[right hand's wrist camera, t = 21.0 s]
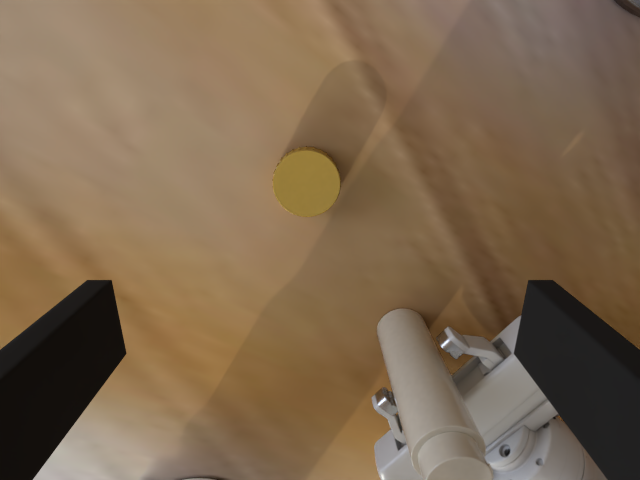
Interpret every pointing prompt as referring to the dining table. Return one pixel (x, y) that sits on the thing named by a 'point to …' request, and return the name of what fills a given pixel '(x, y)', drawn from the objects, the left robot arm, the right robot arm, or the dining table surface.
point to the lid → (306, 182)
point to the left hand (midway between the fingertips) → (409, 367)
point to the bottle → (430, 402)
